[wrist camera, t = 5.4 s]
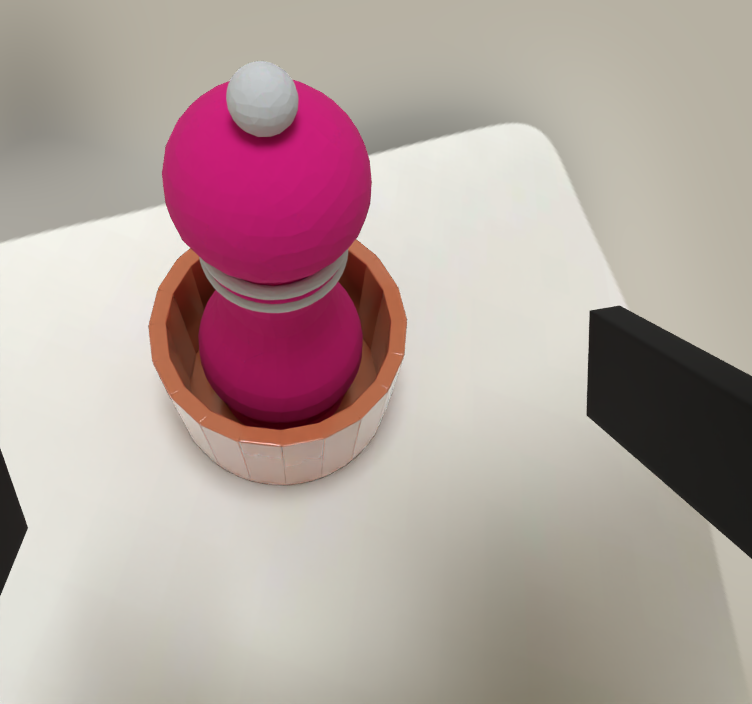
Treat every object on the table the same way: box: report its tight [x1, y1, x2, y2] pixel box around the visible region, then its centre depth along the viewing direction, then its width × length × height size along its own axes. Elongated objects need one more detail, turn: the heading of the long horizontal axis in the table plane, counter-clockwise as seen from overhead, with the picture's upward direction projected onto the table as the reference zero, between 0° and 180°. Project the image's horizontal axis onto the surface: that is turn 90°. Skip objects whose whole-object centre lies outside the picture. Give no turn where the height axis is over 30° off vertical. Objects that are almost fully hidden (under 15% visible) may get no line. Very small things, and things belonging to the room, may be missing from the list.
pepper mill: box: [162, 61, 372, 430], centre depth 25 cm, size 7×7×20 cm
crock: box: [148, 240, 407, 485], centre depth 32 cm, size 11×11×7 cm
